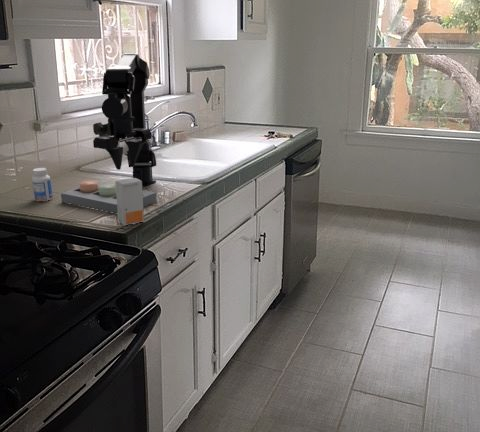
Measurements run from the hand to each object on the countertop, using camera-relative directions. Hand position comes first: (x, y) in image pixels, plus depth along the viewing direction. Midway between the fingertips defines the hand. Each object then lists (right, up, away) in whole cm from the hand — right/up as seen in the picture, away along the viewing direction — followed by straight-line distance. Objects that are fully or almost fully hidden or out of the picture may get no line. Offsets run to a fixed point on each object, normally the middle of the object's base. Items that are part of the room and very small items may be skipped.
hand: (125, 167), depth 156 cm
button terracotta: (-14, -7, +11) cm, 19 cm away
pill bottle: (-28, -9, +11) cm, 31 cm away
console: (-7, -10, +8) cm, 14 cm away
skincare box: (+4, -16, -10) cm, 19 cm away
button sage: (-7, -8, +7) cm, 13 cm away
